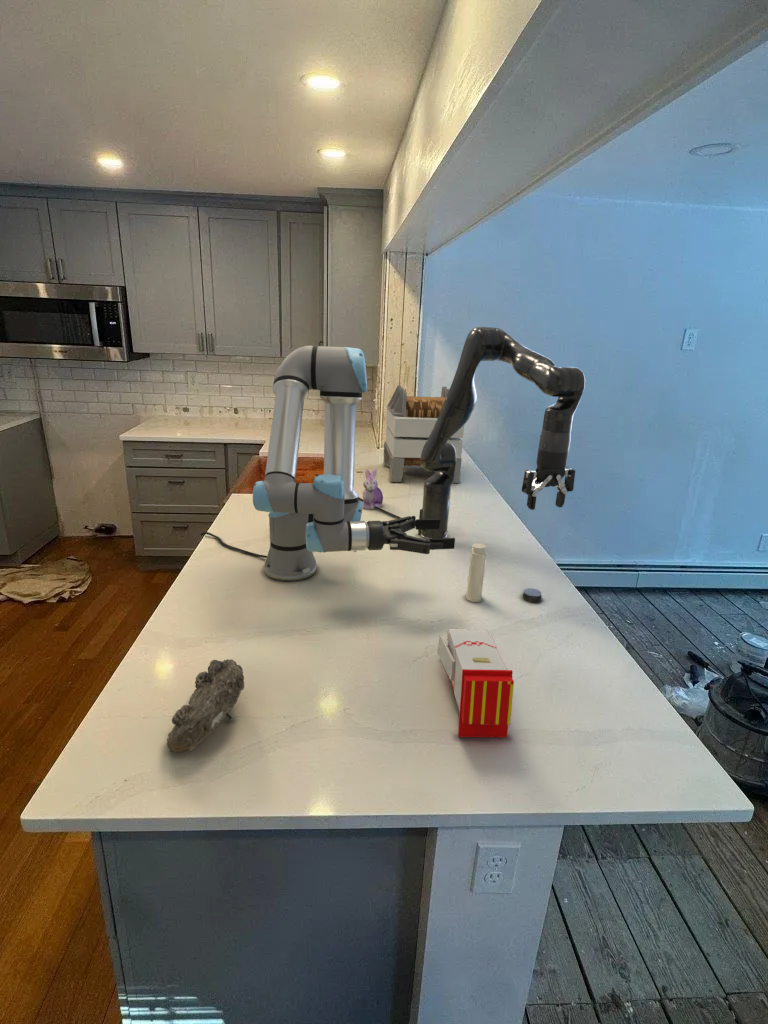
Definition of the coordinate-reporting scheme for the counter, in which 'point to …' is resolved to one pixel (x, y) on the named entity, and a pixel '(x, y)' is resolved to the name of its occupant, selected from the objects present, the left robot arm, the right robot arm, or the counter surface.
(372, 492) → the figurine
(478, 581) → the jar
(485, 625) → the counter surface
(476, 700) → the toy
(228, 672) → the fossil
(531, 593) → the lid
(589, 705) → the counter surface
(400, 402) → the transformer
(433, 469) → the right robot arm
